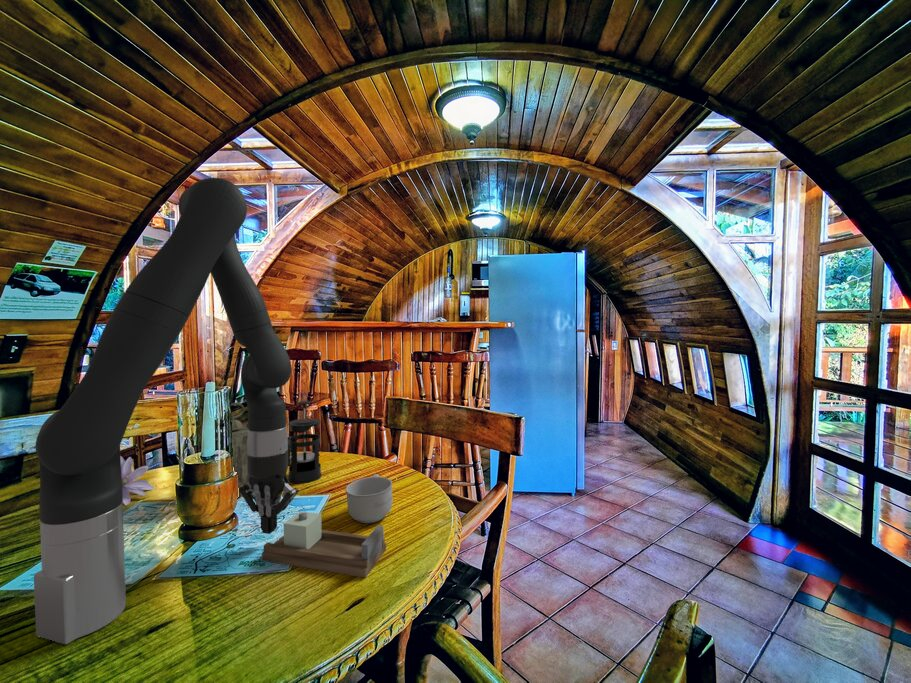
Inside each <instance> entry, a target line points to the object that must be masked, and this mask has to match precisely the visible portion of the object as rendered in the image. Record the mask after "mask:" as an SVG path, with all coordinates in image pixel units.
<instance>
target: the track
mask: <svg viewBox="0 0 911 683" xmlns="http://www.w3.org/2000/svg"><path fill="white" fill-rule="evenodd" d="M321 535H322V538H321V539H320V540H319V541H317V542H316V543H315V544H314V545H313V546H312V547H311V548H310V549H305V548H299V547H293V546H286V545H284V535H282V536H281V537H280V538H279V539H277V540H276V541H274V543H273V542H266V543H264V544H263V551H262V552H261V560H262V561H264V562H270V563H271V562H272V563H275V564H277V563H278V564H283V565H289V566H293V567H294V566H295V567H299V568H306V569H311V570H317V571H323V572H329V573H335V574H341V575H347V576H352V577H358V578H367V577H368V575H369V574H370V573H371V571H372V570H373V568H375V566H376V565H377V563H378V562H379V560H380V559H381V558H382V556H383V555H384V554H385V553H386V550H387V543H386V539H385V538H384V525H377V526H376V527H375V528H374V529H373V530H372V531H371V533H370V534H369V535H368V536H367V535H362V534H355V533H348V532H341V531H334V530H327V529H321Z"/></svg>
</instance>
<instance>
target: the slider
mask: <svg viewBox="0 0 911 683" xmlns="http://www.w3.org/2000/svg"><path fill="white" fill-rule="evenodd" d="M321 530H322V514H321V513H315V512H310V511H309V512H307V511H302V510H300V511H299V512H297V513H296V514H294V515H293V516H292V517H291V518H289V519H287V520H286V521H285V522H284V523H283V536H284V545H286V546H293V547H299V548H305V549H310V548H311V547H312V546H313V545H314V544H315V543H316V542H317V541H319V540H320V539H321V538H322V535H321Z"/></svg>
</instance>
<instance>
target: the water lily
mask: <svg viewBox="0 0 911 683" xmlns="http://www.w3.org/2000/svg"><path fill="white" fill-rule="evenodd" d="M120 460H121V475H122V487H123V505H125V506H127V505H129V504H130V503H131V499H132V498H131V494H130V493H132V494H134V495H139V496H144V497H145V496H146V492H145V491H151V490H152V491H153V490H155V487H154V486H153V485H151V484H150V483H149V482H150V481H149V480H146V479H138V478H140V477H142V476H143V475H144V474H146V473H147V471H148V470H149V466H148V465H142V466H140V467H138V468H136V469H134V470H133V471H131V470H132V468H133V459H132V457H131V456H129V457H128V458H127V459H126V460H125V459H124V458H123V456H121V455H120ZM137 479H138V480H137Z"/></svg>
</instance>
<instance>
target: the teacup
mask: <svg viewBox="0 0 911 683" xmlns="http://www.w3.org/2000/svg"><path fill="white" fill-rule="evenodd" d="M345 493H346V503H347V510H348V513H349V516H350V517H351V518H352V519H353V520H355V521H357V522H359V523H362V524H373V523H377V522H379V521H381V520H383V519H384V518H385V517H386V515H388V514H389V512H390V511H391V509H392V506H393V482H392V480H391V479H389V478H387V477H384V476H380V475H379V474H373V475H372V476H368V477H362V478H360V479H359V478H358V479H356V480H354V481H352V482H350V483H349V484H348V485H347V486H346V487H345Z"/></svg>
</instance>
